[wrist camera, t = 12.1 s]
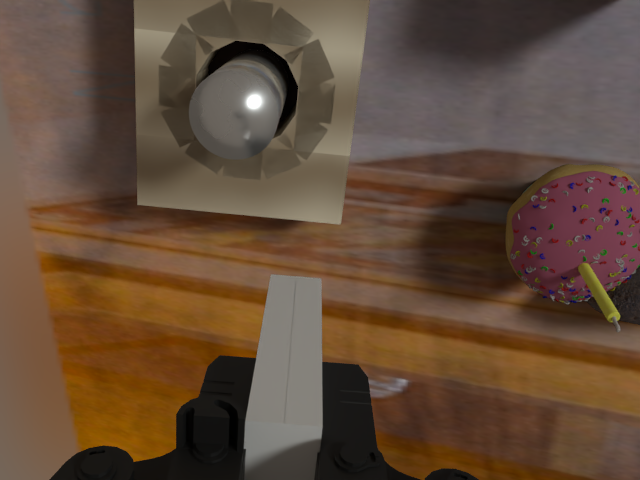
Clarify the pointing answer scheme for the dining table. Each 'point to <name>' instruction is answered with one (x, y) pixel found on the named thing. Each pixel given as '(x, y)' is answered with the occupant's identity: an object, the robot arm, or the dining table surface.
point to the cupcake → (576, 234)
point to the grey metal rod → (240, 105)
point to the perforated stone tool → (625, 299)
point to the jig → (291, 134)
